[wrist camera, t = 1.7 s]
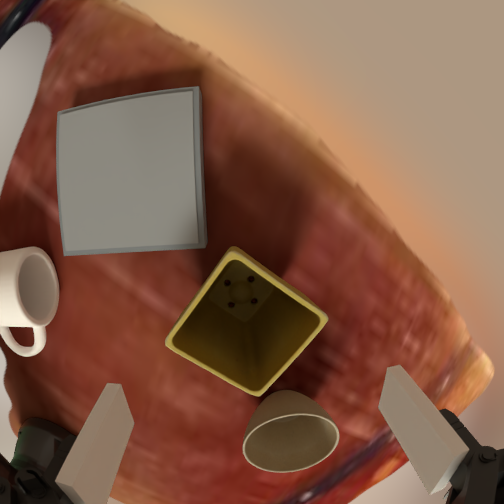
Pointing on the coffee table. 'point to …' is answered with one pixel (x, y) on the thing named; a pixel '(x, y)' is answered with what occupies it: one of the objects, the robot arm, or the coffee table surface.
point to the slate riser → (132, 174)
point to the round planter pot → (289, 433)
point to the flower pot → (245, 324)
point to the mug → (27, 295)
